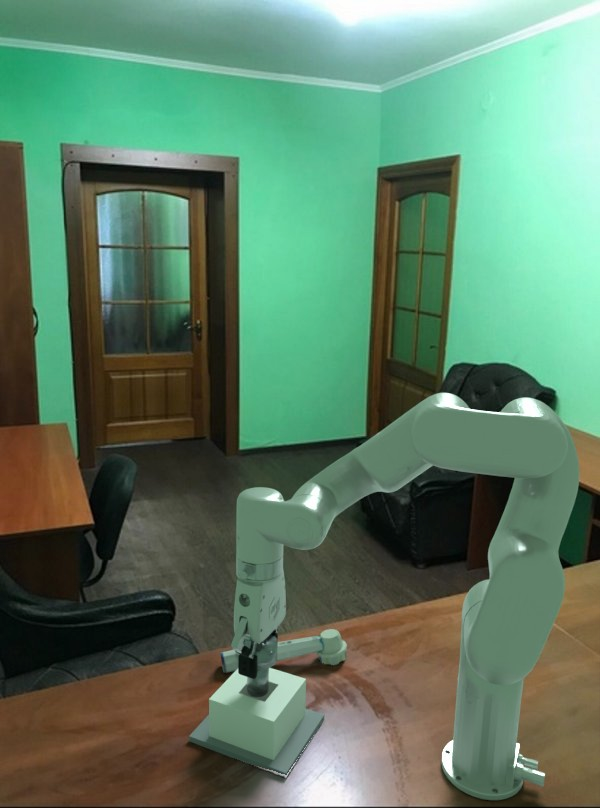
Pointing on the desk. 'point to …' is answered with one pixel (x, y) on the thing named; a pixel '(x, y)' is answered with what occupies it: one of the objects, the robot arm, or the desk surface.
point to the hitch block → (259, 722)
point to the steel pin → (262, 665)
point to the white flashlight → (300, 650)
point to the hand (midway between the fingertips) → (258, 663)
